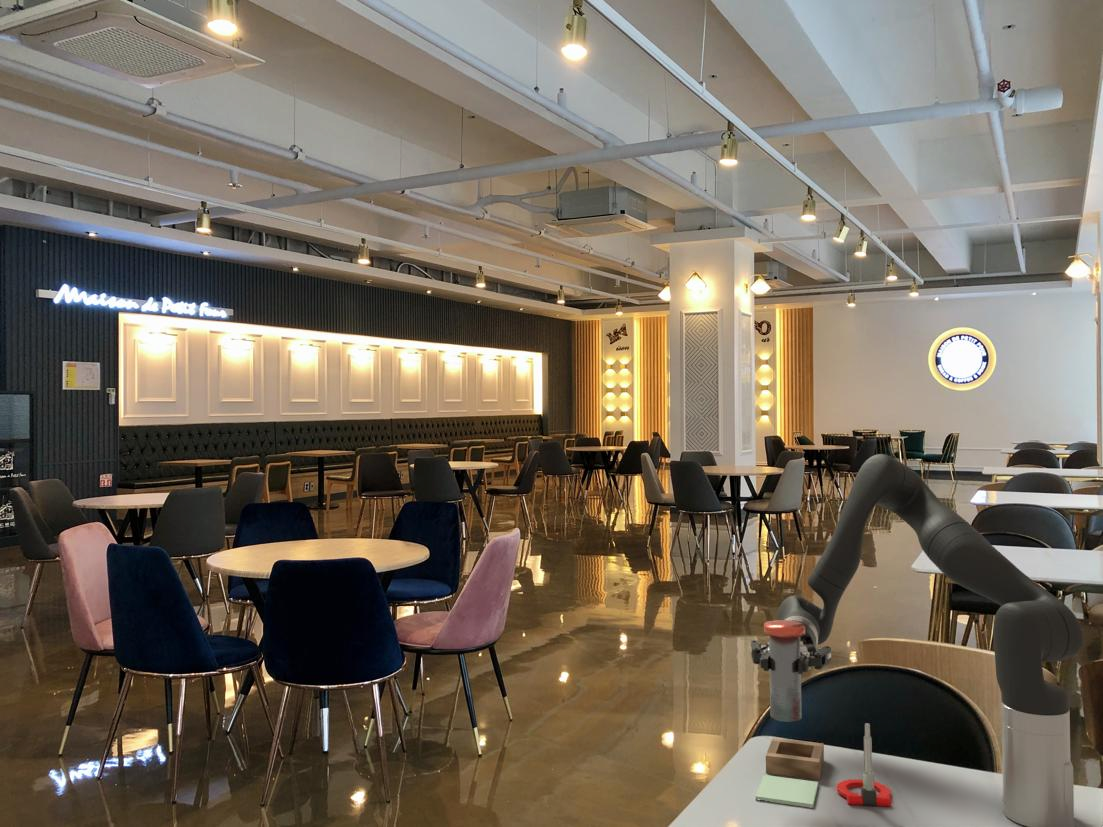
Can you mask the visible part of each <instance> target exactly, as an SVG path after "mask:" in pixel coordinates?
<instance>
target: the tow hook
mask: <svg viewBox="0 0 1103 827" xmlns="http://www.w3.org/2000/svg"><path fill="white" fill-rule="evenodd" d="M872 742H873V741H872V736H871V724H870V723H868V722H867V723H864V736H863V765H864V767H863V768H864V769H863V770H864V771H863V772H862V779H855V778H854V779H853V778H852V779H846V780H842V781H841V780H840V781H839V782H838V783H837V784H836V791H837V794H839V795H841V797H843V798H846V802H847V805H857V806H860V805H861V806H864V807H892V800H891V797H892V793H891V792H892V791H891V789H890V788H889V787H888V786H886V785H884V784H882V783H880V782H877V781H874V780H875V778H874V775H875V774H874V772H873V753H872V750H873V749H872V748H873V745H872ZM854 787H855V788H857V787H860V793H857V792H854V791H852V790H849V789H851V788H854ZM877 792H879V793H877Z"/></svg>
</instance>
